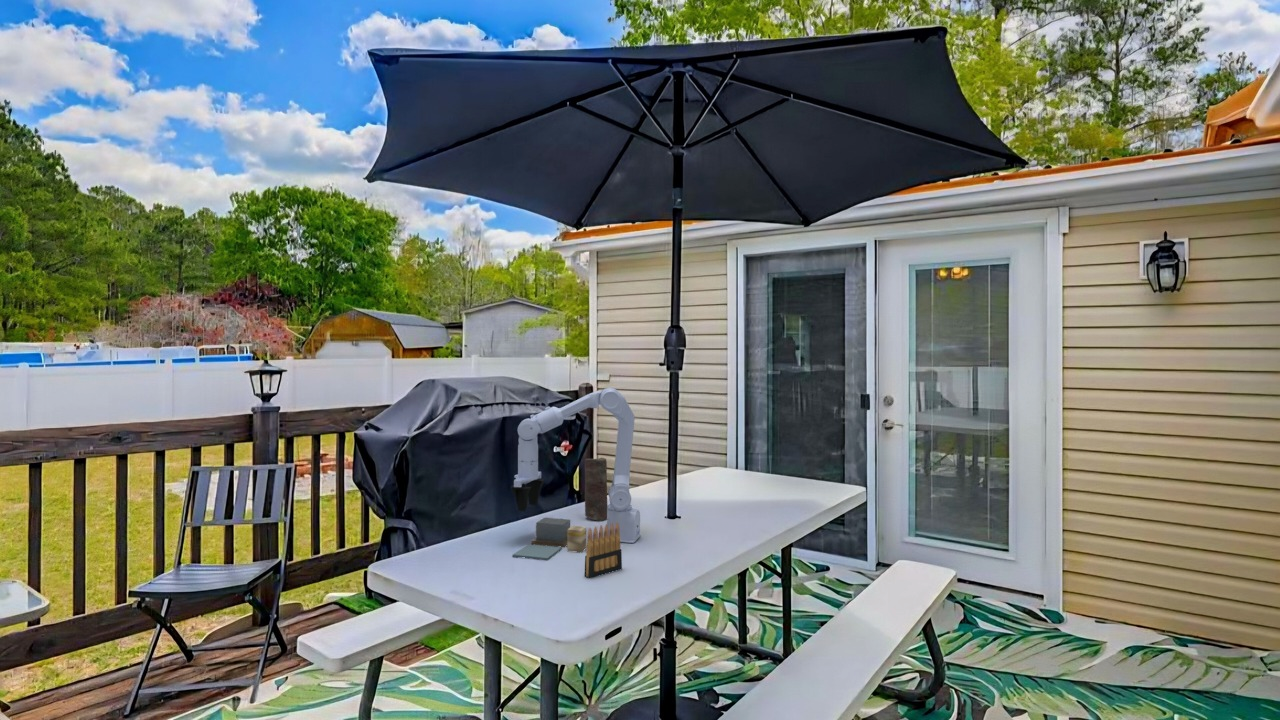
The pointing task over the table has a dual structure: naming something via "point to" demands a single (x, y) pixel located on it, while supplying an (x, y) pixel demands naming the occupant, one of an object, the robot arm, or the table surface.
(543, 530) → the mounted unit
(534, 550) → the mat
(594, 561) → the ammunition clip
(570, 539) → the block
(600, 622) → the table surface
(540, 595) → the table surface
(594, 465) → the candle
